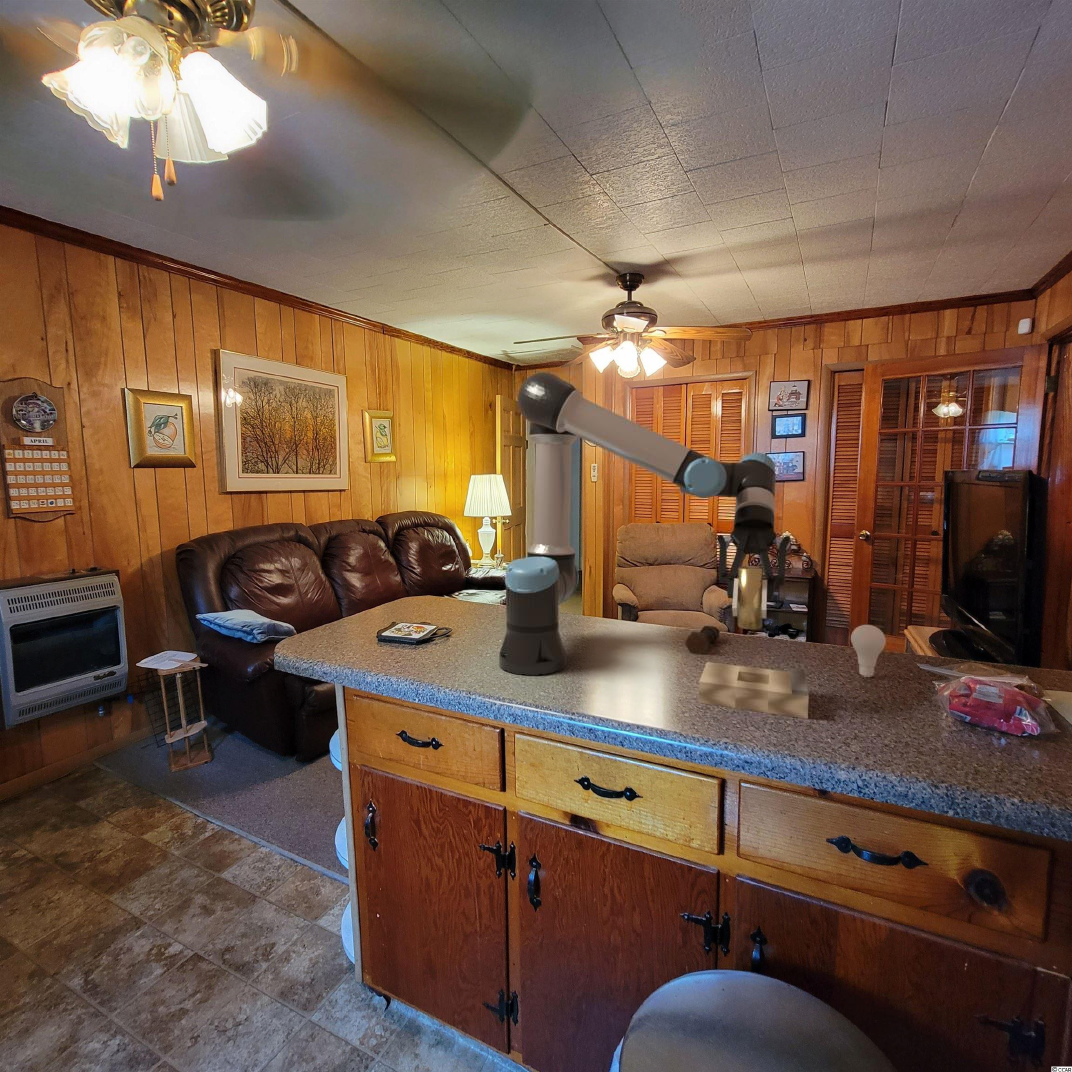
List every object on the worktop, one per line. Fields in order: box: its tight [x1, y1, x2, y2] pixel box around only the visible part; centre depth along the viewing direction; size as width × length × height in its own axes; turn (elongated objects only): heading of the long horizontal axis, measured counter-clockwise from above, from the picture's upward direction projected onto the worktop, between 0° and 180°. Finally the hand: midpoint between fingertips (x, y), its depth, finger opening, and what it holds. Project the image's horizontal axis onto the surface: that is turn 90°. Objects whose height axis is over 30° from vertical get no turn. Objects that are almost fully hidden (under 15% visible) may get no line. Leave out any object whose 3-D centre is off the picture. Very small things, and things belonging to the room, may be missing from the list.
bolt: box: [685, 625, 721, 656], centre depth 136 cm, size 6×5×15 cm
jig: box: [698, 661, 809, 720], centre depth 103 cm, size 18×12×5 cm, turn 66°
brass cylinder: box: [737, 565, 764, 630], centre depth 101 cm, size 4×4×11 cm
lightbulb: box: [850, 624, 886, 678], centre depth 113 cm, size 6×6×11 cm
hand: (749, 612), depth 98 cm, fingers closed on brass cylinder, 4 cm apart
